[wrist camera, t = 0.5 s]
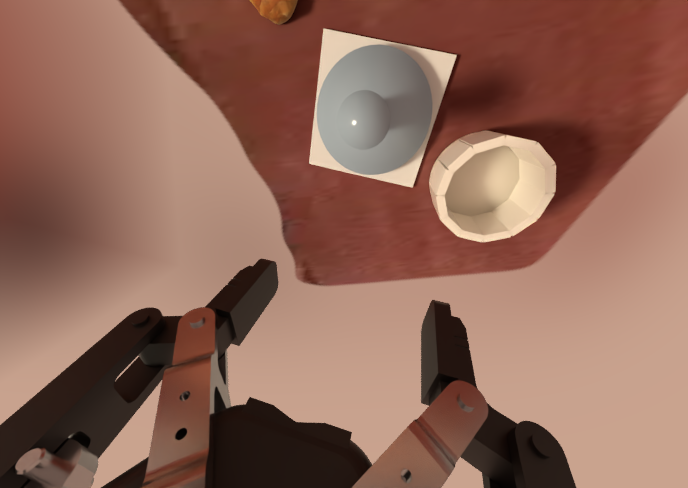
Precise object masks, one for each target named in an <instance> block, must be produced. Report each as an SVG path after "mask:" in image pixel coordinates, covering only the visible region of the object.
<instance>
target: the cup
mask: <svg viewBox="0 0 688 488" xmlns="http://www.w3.org/2000/svg"><path fill="white" fill-rule="evenodd" d="M429 188H430V193H431V196H432V201H433V204H434V207H435V209H436V211H437V213H438V216H439V218H440V220H441V221H442V222H443V223H444V224H445V225H446V226H447V227H448V228H449V229H450V230H451V231H452V232H453V233H454V234H455V235H456V236H458V237H461V238H465V239H470V240H474V241H478V242H482V241H483V242H488V241H494V240H499V239H504V238H509V237H511V235H512V236H514V235H515V234H517V233H518V232H520V231H522V230H523V229H525V228H526V227H528V226H529V225H531V224H532V223H534V222H535V221H537V219H536V218H538V219H539V218H540V216H541V215H542V213H543V212H544V210H545V208H546V207H547V205H548V204H549V202H550V201H551V199H552V198H553V196H554V195H555V194H554V192H556V165H555V162H554V161H553V159H552V158H551V157H550V156H549V155H548V153H547V152H546V151H545V150H544V149H543V147H542V146H541V145H540V144H539V143H538V142H537V141H532V140H528V139H524V138H519V137H515V136H511V135H506V134H502V133H497V132H492V131H488V130H486V131H485V130H484V131H481V132H475V133H471V134H468V135H465V136H463V137H461V138H459V139H457V140H456V141H454V142H453V143H451V144H450V145H449V146H448V147H446V148H445V149H444V150H443V152H442V153H441V154H440V155H439V157H438V158H437V160H436V161H435V163H434V165H433V168H432V170H431V174H430V179H429Z"/></svg>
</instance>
